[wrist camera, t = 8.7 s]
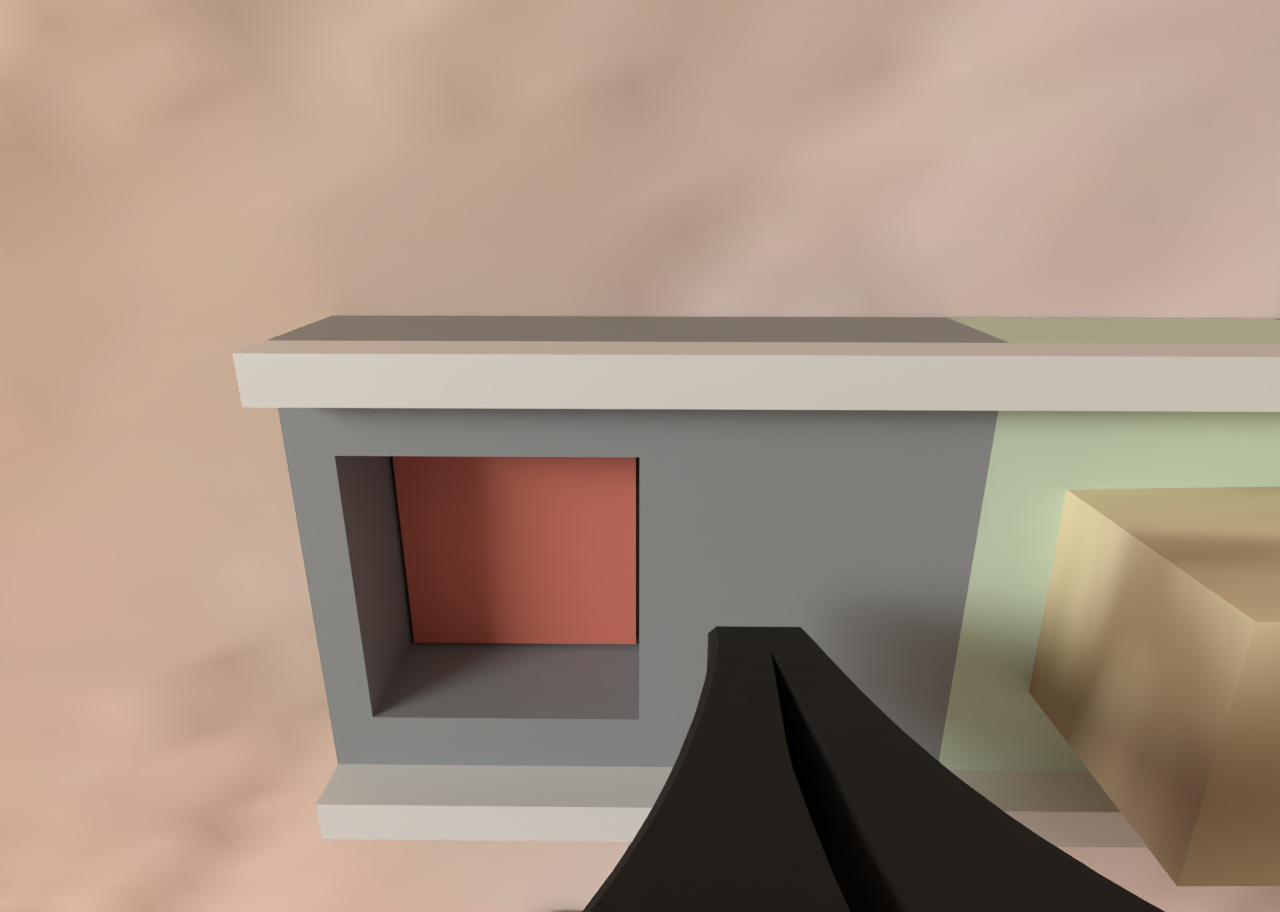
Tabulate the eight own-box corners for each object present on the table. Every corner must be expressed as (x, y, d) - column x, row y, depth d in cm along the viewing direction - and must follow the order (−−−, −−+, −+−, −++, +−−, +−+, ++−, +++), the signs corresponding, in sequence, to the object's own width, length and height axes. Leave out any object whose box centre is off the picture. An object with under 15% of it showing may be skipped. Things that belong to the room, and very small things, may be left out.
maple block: (1250, 690, 13) (1488, 884, 10) (1029, 692, 13) (1177, 886, 10) (1313, 485, 12) (1617, 617, 8) (1066, 489, 12) (1256, 622, 8)
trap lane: (1448, 721, 17) (1649, 852, 13) (386, 712, 17) (322, 838, 13) (1628, 319, 14) (1943, 359, 10) (331, 315, 14) (231, 353, 10)
